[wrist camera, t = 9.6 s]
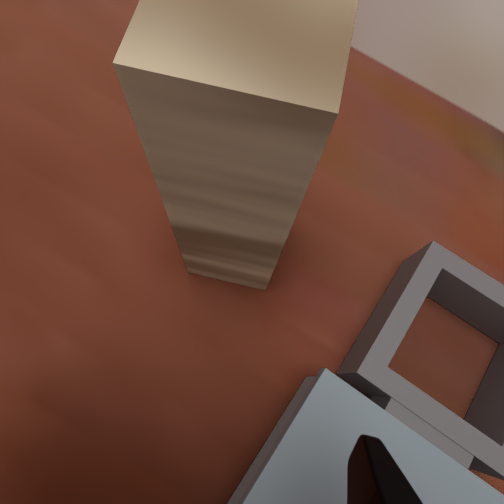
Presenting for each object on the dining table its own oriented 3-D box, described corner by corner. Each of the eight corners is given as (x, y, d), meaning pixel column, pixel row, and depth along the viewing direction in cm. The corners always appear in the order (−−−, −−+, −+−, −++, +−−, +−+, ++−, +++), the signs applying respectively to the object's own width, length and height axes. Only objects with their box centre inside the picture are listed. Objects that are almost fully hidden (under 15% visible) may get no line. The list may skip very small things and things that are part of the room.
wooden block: (265, 290, 22) (337, 114, 7) (188, 272, 22) (112, 63, 7) (281, 219, 23) (366, -45, 9) (208, 202, 23) (177, -86, 9)
